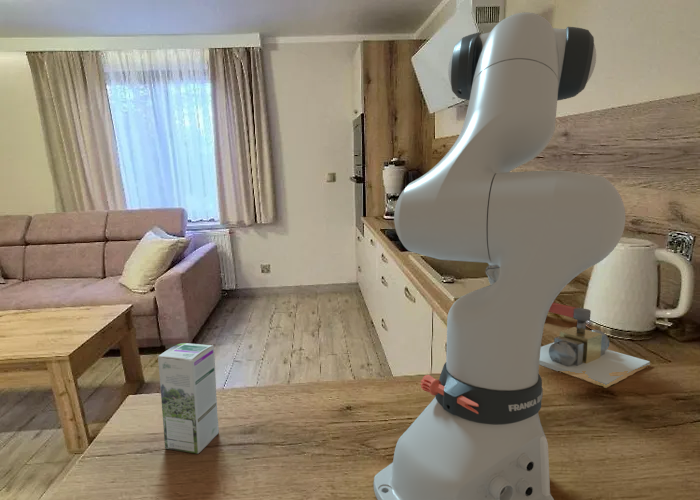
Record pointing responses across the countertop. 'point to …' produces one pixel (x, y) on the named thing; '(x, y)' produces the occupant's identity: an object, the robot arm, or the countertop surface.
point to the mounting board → (596, 365)
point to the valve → (578, 345)
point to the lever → (571, 311)
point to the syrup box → (188, 396)
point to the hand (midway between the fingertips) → (544, 309)
